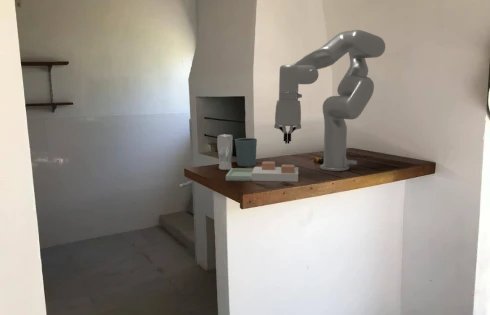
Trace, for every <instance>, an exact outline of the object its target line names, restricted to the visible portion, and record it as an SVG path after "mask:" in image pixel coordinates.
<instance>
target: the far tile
mask: <svg viewBox="0 0 490 315" xmlns="http://www.w3.org/2000/svg"><path fill="white" fill-rule="evenodd" d="M261 167H262V170H274V169H275V167H276V161H272V160H271V161H267V160H266V161H262V162H261Z"/></svg>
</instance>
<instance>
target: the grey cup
mask: <svg viewBox="0 0 490 315" xmlns="http://www.w3.org/2000/svg"><path fill="white" fill-rule="evenodd" d="M257 140H258V139H257V138H255V137H254V138H253V137H241V138H235V139H234V145H235V153H236V155H235V156H236V164H237V166H238V167H246V166H247V167H256V165H257V160H256V159H257V144H258V142H257Z"/></svg>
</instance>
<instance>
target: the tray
mask: <svg viewBox="0 0 490 315" xmlns="http://www.w3.org/2000/svg"><path fill="white" fill-rule="evenodd" d="M253 169H254V168H245V167H244V168H241V167H240V168H239V167H237V168H236V167H235V168H233V167H232V168H231V170H228V172H227V173H226V175H225V181H226V182H251V181H252V179H251V173H252V171H253Z"/></svg>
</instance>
